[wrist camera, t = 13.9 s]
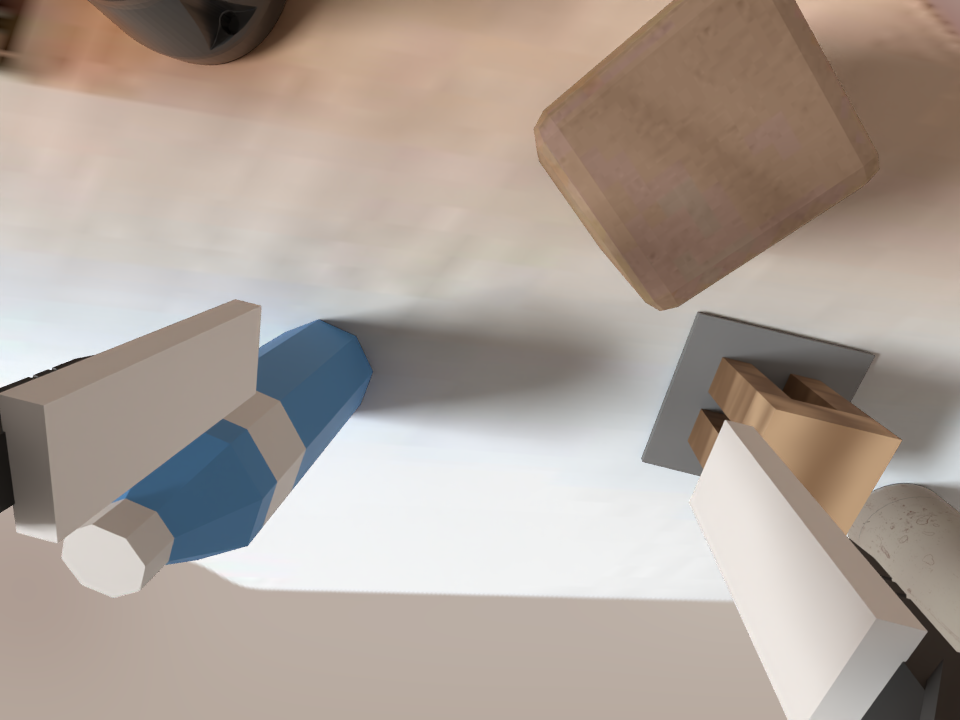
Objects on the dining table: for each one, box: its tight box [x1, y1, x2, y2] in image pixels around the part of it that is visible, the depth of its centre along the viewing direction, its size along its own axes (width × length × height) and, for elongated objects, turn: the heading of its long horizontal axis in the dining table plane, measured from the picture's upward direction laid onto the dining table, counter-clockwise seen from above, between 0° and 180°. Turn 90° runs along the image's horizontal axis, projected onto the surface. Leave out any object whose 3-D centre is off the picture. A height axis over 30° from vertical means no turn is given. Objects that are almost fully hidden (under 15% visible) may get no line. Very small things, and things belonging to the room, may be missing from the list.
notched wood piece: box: [688, 357, 902, 535], centre depth 38 cm, size 8×8×10 cm
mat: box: [641, 312, 875, 476], centre depth 43 cm, size 14×14×1 cm
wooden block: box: [534, 0, 879, 311], centre depth 29 cm, size 10×10×20 cm
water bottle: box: [61, 320, 373, 598], centre depth 35 cm, size 9×9×25 cm
